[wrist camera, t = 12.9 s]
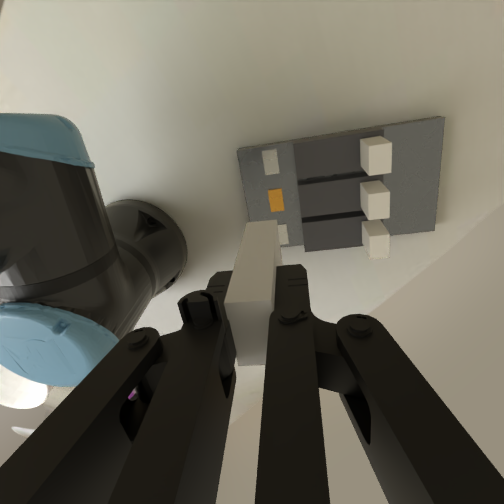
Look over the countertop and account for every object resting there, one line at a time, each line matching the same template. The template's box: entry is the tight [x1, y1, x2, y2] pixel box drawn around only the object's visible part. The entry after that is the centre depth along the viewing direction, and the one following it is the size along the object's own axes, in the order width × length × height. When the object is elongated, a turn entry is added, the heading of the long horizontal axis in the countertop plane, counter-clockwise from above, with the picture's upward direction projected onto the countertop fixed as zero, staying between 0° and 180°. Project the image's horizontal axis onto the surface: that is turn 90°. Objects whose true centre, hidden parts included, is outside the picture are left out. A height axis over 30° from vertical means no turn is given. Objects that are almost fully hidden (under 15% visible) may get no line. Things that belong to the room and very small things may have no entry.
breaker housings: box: [293, 127, 392, 259], centre depth 39 cm, size 10×14×7 cm
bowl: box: [0, 364, 54, 409], centre depth 60 cm, size 16×16×8 cm
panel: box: [237, 116, 445, 247], centre depth 42 cm, size 24×14×2 cm, turn 100°
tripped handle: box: [360, 180, 390, 220], centre depth 37 cm, size 2×3×4 cm
